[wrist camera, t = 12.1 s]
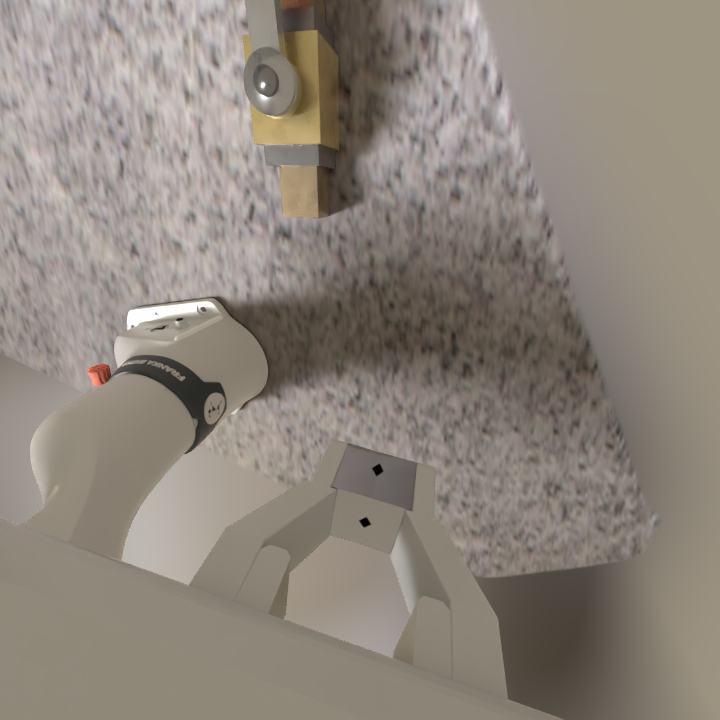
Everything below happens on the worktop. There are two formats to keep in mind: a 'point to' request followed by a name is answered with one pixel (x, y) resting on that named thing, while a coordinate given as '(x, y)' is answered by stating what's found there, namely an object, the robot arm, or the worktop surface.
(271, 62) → the lever
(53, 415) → the robot arm
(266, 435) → the worktop surface
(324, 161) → the valve
